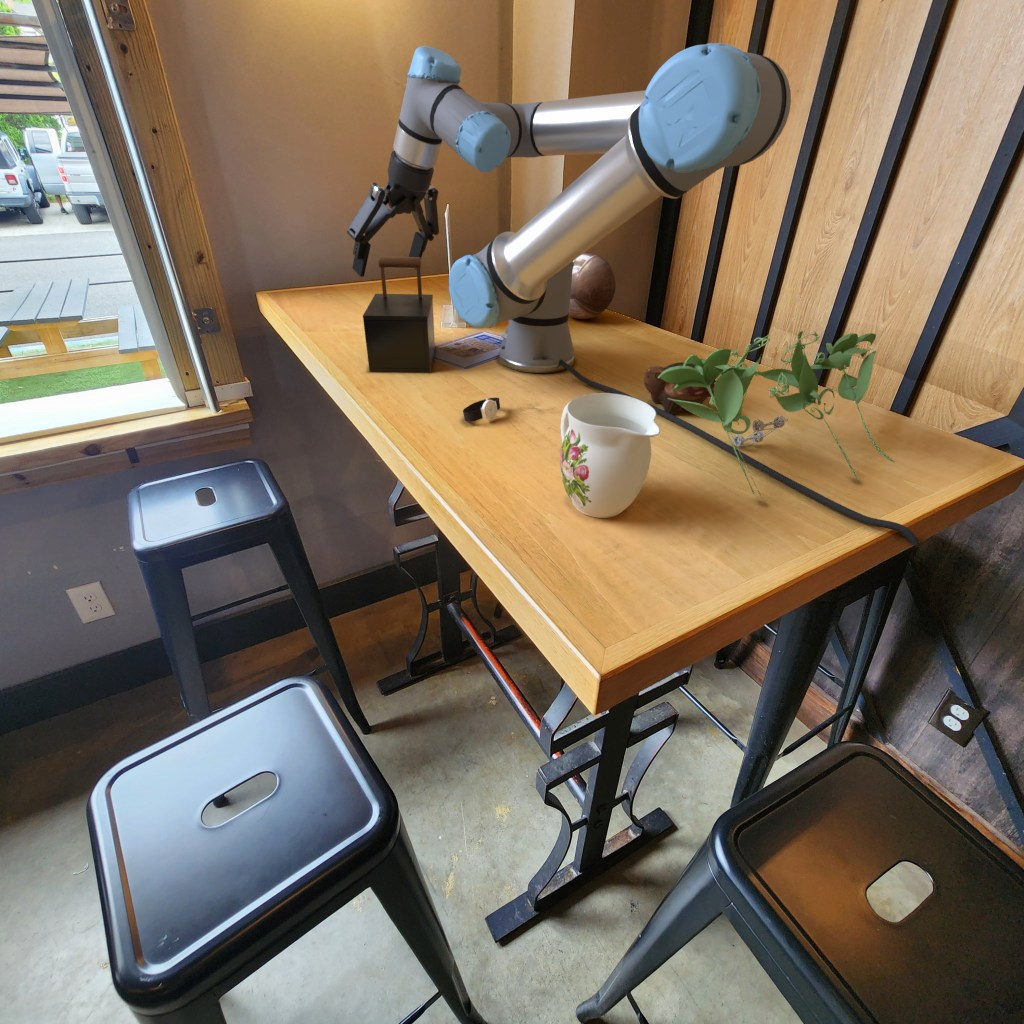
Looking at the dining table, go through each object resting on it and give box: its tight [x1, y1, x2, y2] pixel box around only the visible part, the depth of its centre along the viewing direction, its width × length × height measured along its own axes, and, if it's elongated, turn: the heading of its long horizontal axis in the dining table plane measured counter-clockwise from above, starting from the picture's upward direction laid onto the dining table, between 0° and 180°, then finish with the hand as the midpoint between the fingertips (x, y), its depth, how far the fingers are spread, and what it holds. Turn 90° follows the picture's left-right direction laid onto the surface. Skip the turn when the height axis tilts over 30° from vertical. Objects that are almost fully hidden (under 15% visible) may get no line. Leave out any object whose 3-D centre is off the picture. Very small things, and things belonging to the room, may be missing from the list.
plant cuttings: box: [658, 330, 896, 501], centre depth 80 cm, size 35×17×22 cm
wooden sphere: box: [568, 252, 617, 320], centre depth 138 cm, size 15×15×15 cm
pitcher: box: [559, 392, 661, 519], centre depth 71 cm, size 11×18×14 cm, turn 27°
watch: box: [462, 397, 501, 423], centre depth 93 cm, size 8×5×4 cm, turn 143°
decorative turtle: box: [642, 361, 717, 415], centre depth 97 cm, size 10×15×8 cm, turn 111°
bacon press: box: [362, 255, 434, 321], centre depth 107 cm, size 15×12×8 cm
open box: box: [362, 300, 436, 373], centre depth 112 cm, size 15×12×10 cm
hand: (386, 268), depth 113 cm, fingers open, 13 cm apart
